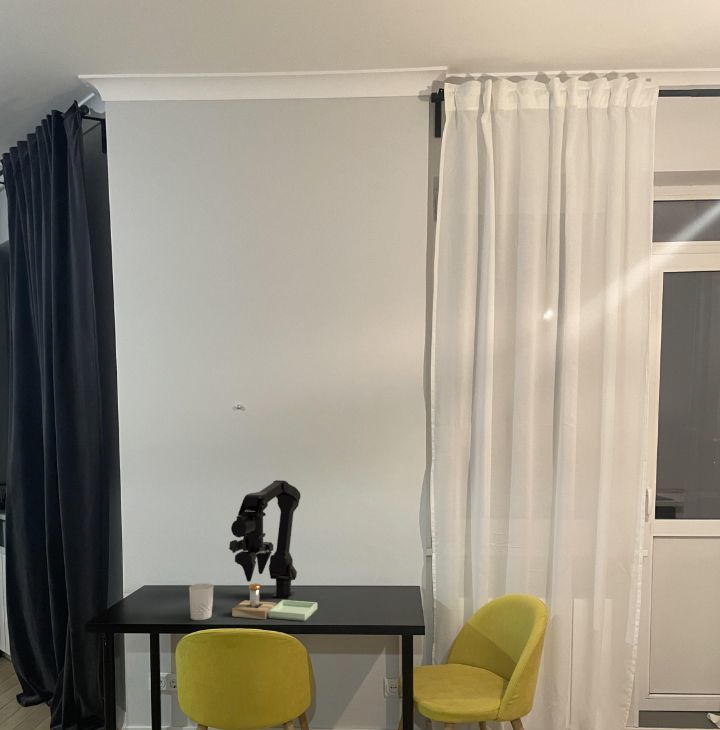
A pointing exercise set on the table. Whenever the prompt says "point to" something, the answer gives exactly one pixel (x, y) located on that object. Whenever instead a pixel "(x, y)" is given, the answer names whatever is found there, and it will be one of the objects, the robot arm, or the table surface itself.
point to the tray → (293, 610)
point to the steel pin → (254, 595)
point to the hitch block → (252, 610)
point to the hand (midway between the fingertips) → (254, 577)
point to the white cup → (201, 601)
